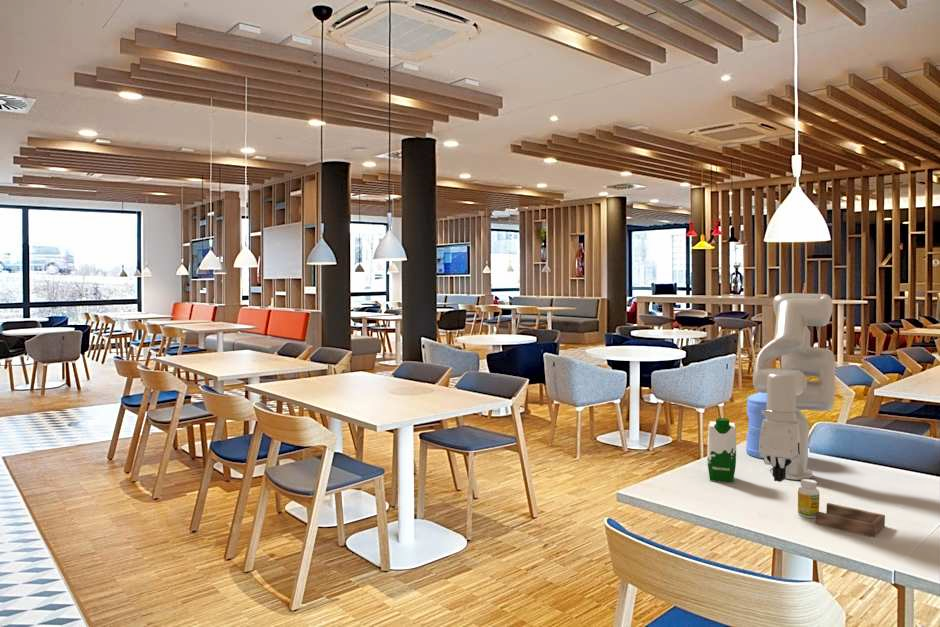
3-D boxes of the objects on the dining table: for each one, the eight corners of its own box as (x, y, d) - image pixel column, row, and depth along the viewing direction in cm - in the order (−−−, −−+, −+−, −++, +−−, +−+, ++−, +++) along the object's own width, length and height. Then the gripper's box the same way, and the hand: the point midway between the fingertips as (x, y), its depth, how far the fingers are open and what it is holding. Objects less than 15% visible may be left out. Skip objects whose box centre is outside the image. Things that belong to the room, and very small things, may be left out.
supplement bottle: (804, 510, 197) (805, 477, 196) (822, 516, 192) (823, 482, 192) (793, 514, 194) (794, 480, 193) (811, 520, 189) (812, 485, 189)
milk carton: (706, 481, 224) (708, 419, 223) (707, 473, 232) (708, 414, 231) (736, 484, 221) (737, 421, 220) (735, 476, 230) (736, 416, 228)
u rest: (815, 523, 187) (815, 512, 187) (827, 513, 194) (828, 502, 194) (873, 537, 177) (874, 525, 177) (884, 526, 185) (885, 515, 184)
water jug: (802, 458, 250) (804, 381, 248) (765, 462, 246) (767, 383, 244) (771, 448, 265) (773, 375, 263) (736, 451, 261) (738, 376, 259)
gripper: (748, 414, 199) (747, 477, 200) (803, 422, 189) (802, 488, 190) (759, 411, 205) (757, 472, 206) (813, 418, 194) (811, 483, 195)
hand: (779, 480), depth 198 cm, fingers closed
